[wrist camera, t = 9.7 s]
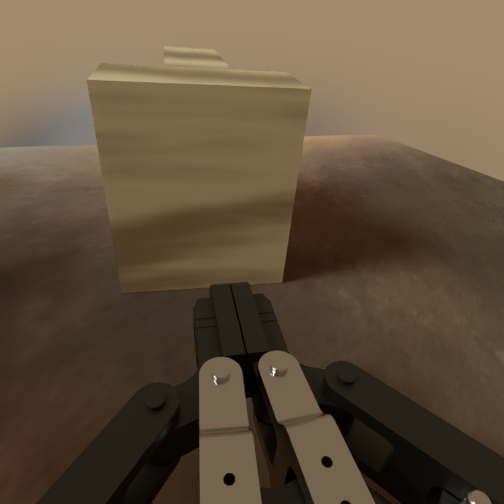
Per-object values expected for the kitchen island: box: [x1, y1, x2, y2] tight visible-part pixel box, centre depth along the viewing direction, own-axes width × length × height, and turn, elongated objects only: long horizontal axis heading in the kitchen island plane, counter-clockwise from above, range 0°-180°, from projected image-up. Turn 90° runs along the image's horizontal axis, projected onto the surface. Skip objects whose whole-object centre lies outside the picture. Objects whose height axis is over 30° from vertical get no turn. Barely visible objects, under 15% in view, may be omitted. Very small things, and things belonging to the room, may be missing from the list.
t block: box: [87, 46, 311, 293], centre depth 28 cm, size 15×11×13 cm
